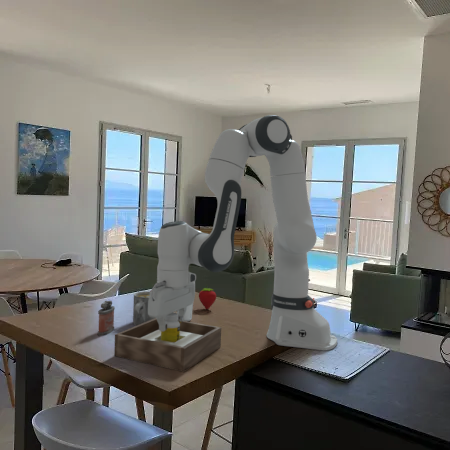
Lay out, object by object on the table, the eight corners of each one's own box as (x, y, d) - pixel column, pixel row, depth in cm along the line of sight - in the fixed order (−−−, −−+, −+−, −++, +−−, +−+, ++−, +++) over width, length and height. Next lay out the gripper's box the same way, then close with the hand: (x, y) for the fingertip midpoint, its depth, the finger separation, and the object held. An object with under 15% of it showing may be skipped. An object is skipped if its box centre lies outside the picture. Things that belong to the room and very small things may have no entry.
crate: (220, 347, 136) (221, 327, 135) (183, 371, 116) (184, 348, 115) (158, 335, 145) (159, 316, 144) (114, 355, 125) (114, 334, 124)
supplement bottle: (179, 350, 128) (181, 316, 127) (160, 351, 127) (161, 316, 126) (178, 344, 133) (179, 311, 133) (159, 344, 132) (161, 311, 132)
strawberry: (211, 312, 176) (212, 286, 175) (194, 309, 179) (195, 284, 179) (218, 309, 181) (219, 284, 180) (203, 306, 184) (203, 282, 184)
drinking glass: (192, 322, 160) (194, 280, 159) (173, 321, 160) (175, 279, 159) (194, 317, 167) (195, 277, 166) (176, 316, 167) (177, 276, 166)
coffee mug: (145, 317, 165) (146, 290, 164) (167, 322, 160) (168, 294, 159) (119, 325, 153) (120, 296, 153) (142, 331, 148) (143, 300, 148)
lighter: (107, 327, 150) (107, 298, 150) (116, 328, 150) (117, 299, 149) (95, 335, 142) (95, 303, 142) (105, 336, 142) (105, 304, 141)
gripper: (162, 285, 118) (161, 337, 119) (199, 274, 137) (198, 319, 137) (142, 283, 121) (141, 334, 121) (180, 272, 139) (180, 316, 140)
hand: (171, 326), depth 130 cm, fingers open, 8 cm apart
